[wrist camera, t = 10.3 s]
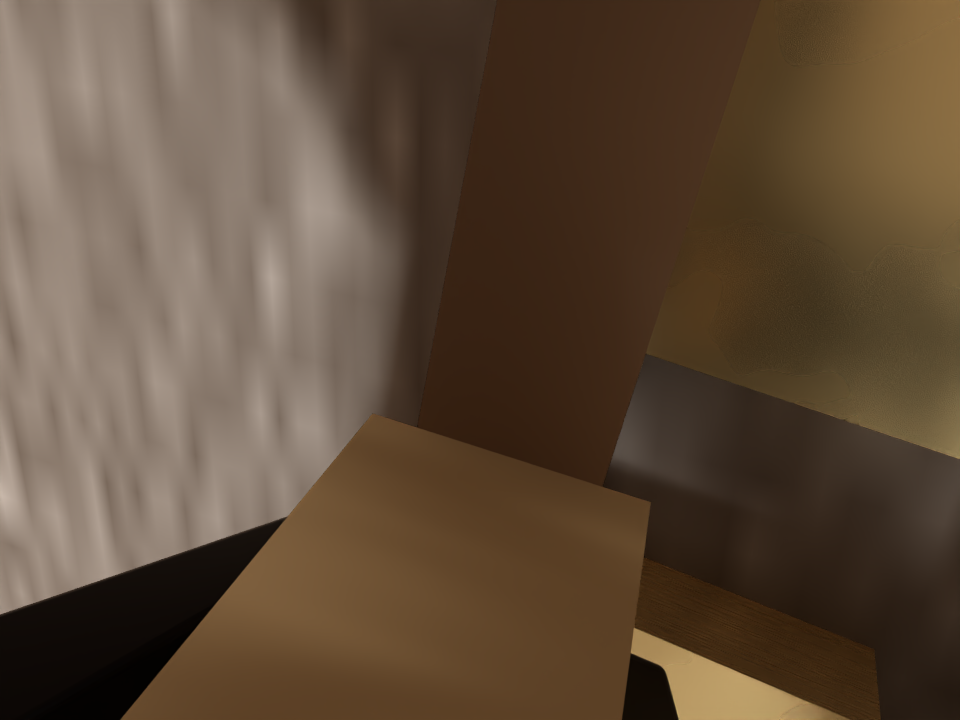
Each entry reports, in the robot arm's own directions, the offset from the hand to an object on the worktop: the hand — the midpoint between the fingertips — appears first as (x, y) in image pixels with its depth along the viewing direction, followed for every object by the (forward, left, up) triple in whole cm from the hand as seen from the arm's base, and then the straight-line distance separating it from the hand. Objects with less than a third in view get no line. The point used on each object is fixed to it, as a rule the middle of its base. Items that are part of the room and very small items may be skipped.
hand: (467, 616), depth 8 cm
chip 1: (-3, -4, -5) cm, 7 cm away
